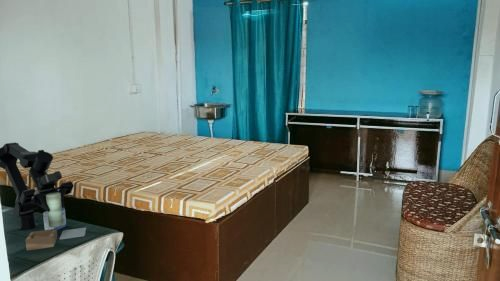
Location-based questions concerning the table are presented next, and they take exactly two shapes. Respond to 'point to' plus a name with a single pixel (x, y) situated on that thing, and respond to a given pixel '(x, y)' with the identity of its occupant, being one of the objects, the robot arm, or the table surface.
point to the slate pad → (73, 233)
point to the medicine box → (46, 222)
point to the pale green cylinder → (54, 209)
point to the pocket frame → (41, 239)
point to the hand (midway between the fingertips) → (56, 209)
